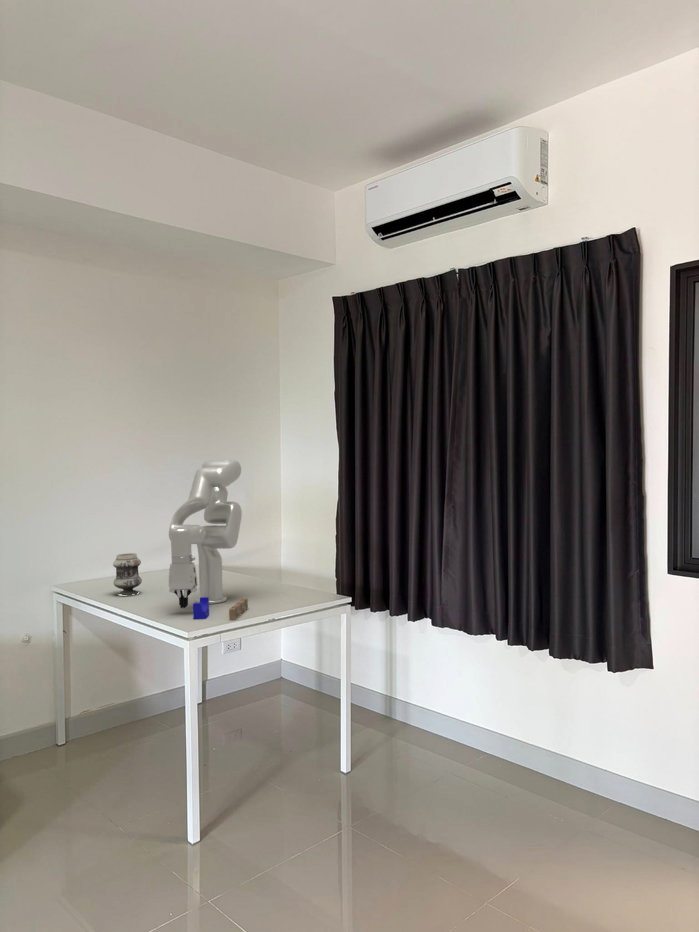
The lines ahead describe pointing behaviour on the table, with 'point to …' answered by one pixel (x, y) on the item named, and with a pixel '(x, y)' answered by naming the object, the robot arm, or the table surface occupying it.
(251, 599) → the table surface
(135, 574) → the apothecary jar
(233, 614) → the walnut rail
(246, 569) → the table surface
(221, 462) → the robot arm
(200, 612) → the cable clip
